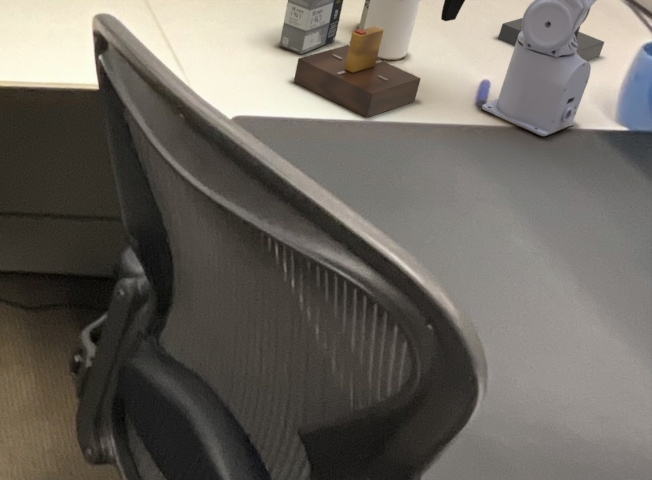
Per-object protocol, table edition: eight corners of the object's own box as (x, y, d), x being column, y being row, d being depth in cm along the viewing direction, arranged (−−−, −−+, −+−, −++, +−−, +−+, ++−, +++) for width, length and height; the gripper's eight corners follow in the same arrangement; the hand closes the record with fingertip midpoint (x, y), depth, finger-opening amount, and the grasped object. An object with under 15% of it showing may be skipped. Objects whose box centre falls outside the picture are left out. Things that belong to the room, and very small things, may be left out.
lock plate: (414, 101, 140) (421, 76, 138) (366, 117, 135) (372, 92, 133) (342, 67, 146) (348, 43, 144) (293, 81, 140) (298, 56, 138)
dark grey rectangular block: (599, 57, 162) (609, 29, 159) (567, 68, 157) (578, 39, 154) (530, 29, 167) (539, 1, 165) (497, 38, 162) (506, 10, 160)
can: (404, 64, 150) (428, -30, 142) (357, 55, 150) (378, -39, 142) (407, 48, 154) (430, -43, 146) (361, 39, 155) (382, -53, 147)
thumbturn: (366, 62, 140) (375, 24, 137) (375, 66, 139) (384, 27, 136) (343, 69, 137) (352, 30, 134) (352, 73, 137) (361, 34, 133)
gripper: (388, -126, 132) (362, -7, 141) (482, -90, 124) (448, 33, 134) (427, -130, 136) (399, -13, 145) (520, -95, 128) (484, 25, 137)
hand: (425, 8), depth 139 cm, fingers open, 7 cm apart
